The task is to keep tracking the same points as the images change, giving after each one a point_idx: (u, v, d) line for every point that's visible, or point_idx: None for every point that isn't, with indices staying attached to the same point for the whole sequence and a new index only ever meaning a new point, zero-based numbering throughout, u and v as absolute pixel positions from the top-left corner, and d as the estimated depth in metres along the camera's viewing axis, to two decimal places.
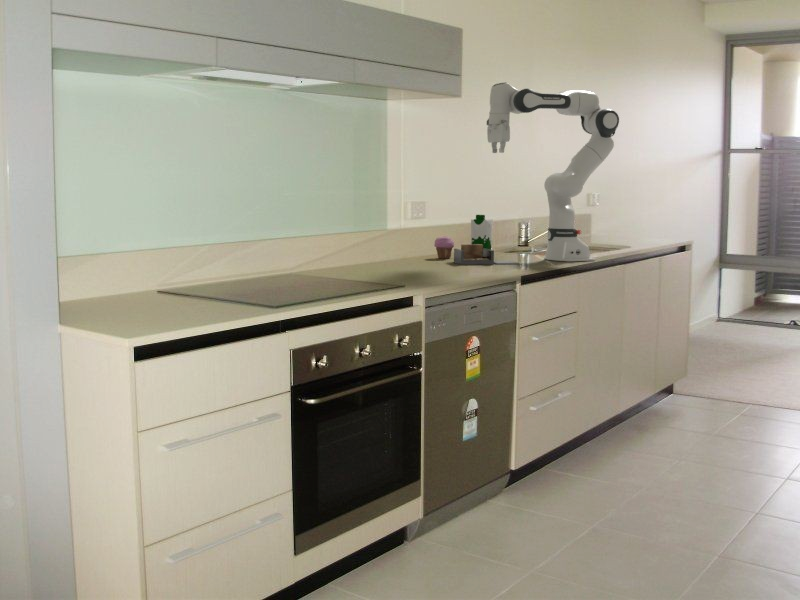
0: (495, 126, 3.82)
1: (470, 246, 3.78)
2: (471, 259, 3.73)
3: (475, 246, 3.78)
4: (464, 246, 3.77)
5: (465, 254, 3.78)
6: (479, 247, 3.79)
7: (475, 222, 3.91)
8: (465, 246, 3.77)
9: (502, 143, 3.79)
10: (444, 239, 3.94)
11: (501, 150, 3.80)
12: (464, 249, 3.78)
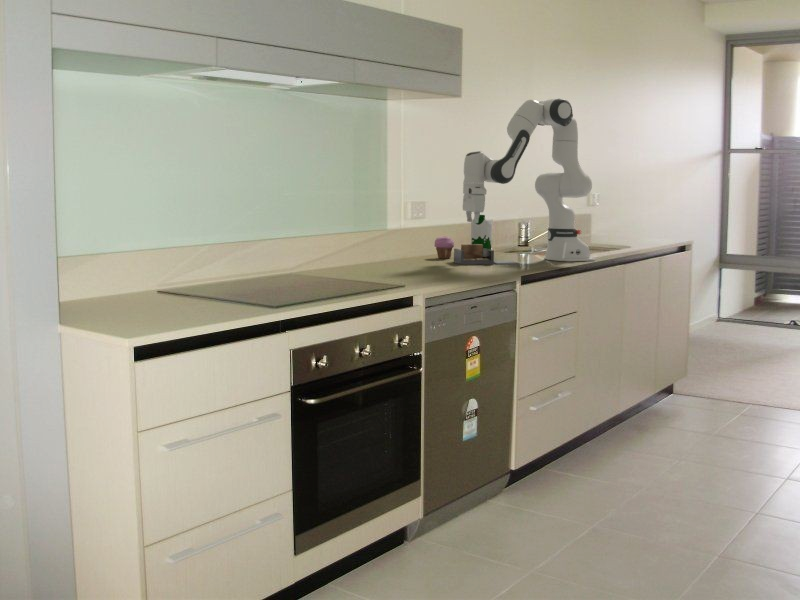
0: None
1: (470, 246, 3.78)
2: (471, 259, 3.73)
3: (475, 246, 3.78)
4: (464, 246, 3.77)
5: (465, 254, 3.78)
6: (479, 247, 3.79)
7: None
8: (465, 246, 3.77)
9: None
10: (444, 239, 3.94)
11: None
12: (464, 249, 3.78)
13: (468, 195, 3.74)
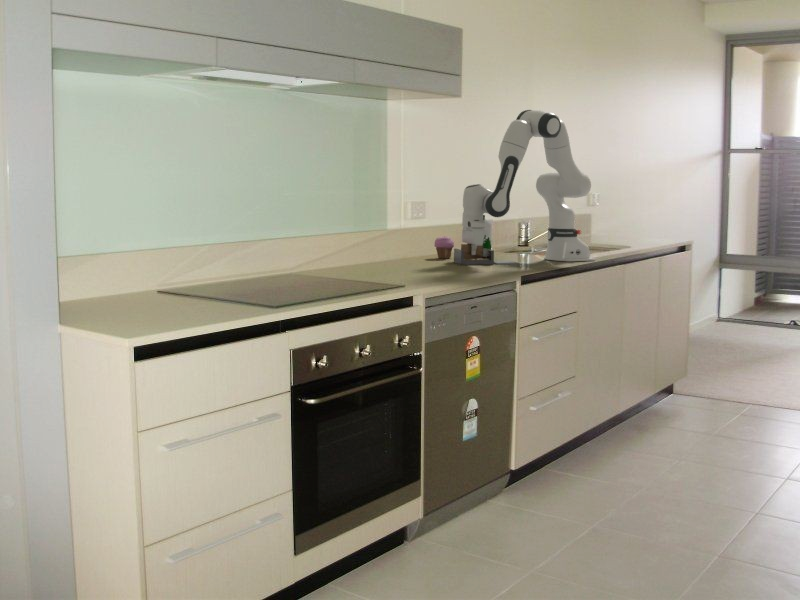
0: None
1: (470, 246, 3.78)
2: (471, 259, 3.73)
3: None
4: (464, 246, 3.77)
5: (465, 253, 3.78)
6: (479, 246, 3.79)
7: None
8: (465, 246, 3.77)
9: None
10: (444, 239, 3.94)
11: None
12: (464, 249, 3.77)
13: (467, 228, 3.76)
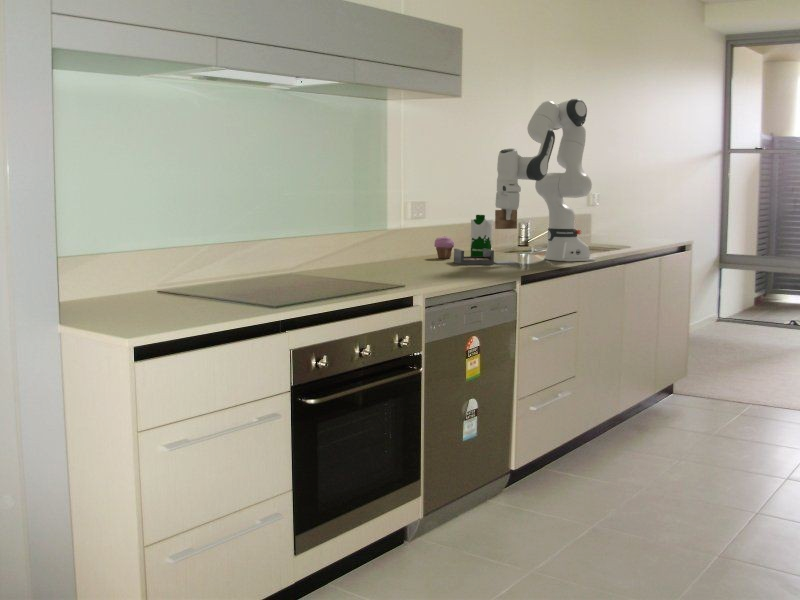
0: None
1: (504, 211, 3.76)
2: (471, 259, 3.73)
3: None
4: (498, 211, 3.75)
5: (499, 219, 3.76)
6: (513, 212, 3.77)
7: (475, 222, 3.91)
8: (499, 211, 3.75)
9: None
10: (444, 239, 3.94)
11: None
12: (498, 214, 3.75)
13: (502, 192, 3.74)
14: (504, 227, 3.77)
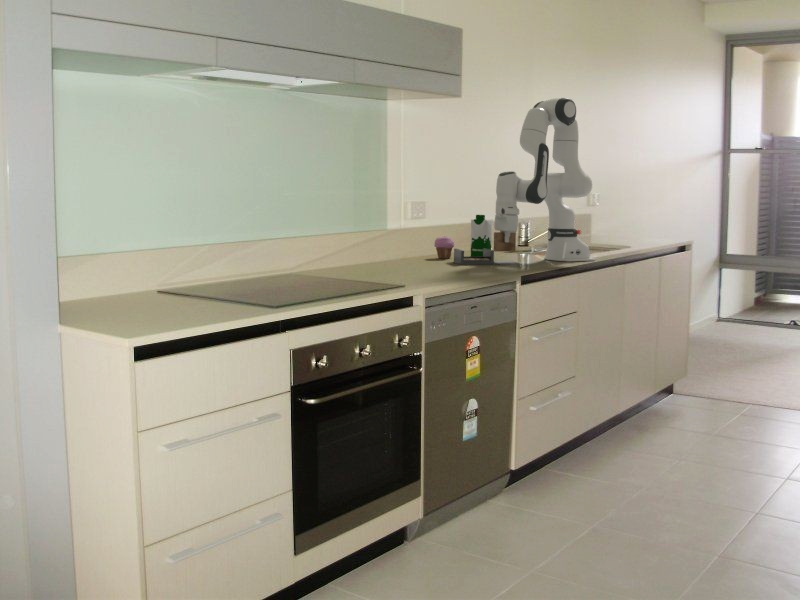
0: None
1: (503, 234, 3.77)
2: (471, 259, 3.73)
3: None
4: (497, 234, 3.77)
5: (498, 241, 3.77)
6: (512, 234, 3.78)
7: (475, 222, 3.91)
8: (498, 234, 3.77)
9: None
10: (444, 239, 3.94)
11: None
12: (497, 237, 3.77)
13: (501, 215, 3.75)
14: (503, 249, 3.78)
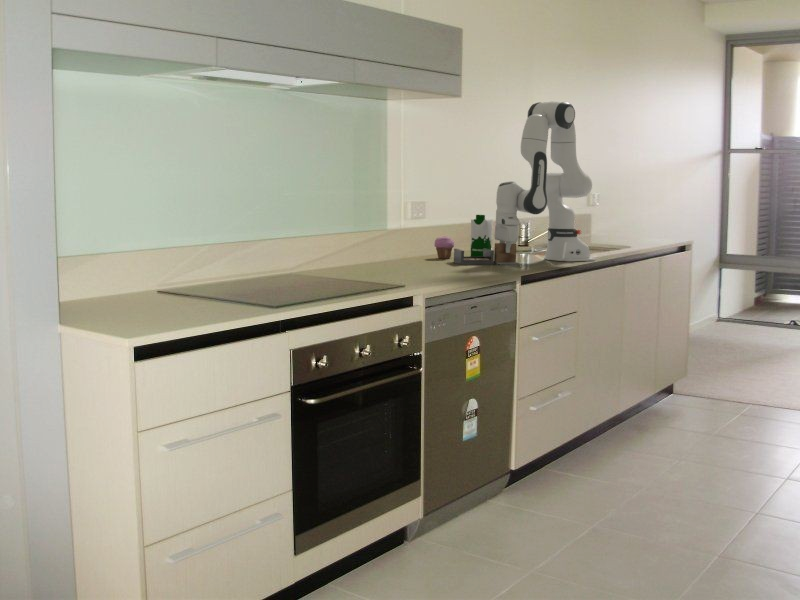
0: None
1: (504, 245, 3.78)
2: (471, 259, 3.73)
3: None
4: (498, 245, 3.77)
5: (499, 252, 3.78)
6: (512, 245, 3.79)
7: (475, 222, 3.91)
8: (499, 245, 3.77)
9: None
10: (444, 239, 3.94)
11: None
12: (498, 248, 3.78)
13: (501, 225, 3.76)
14: (503, 260, 3.79)
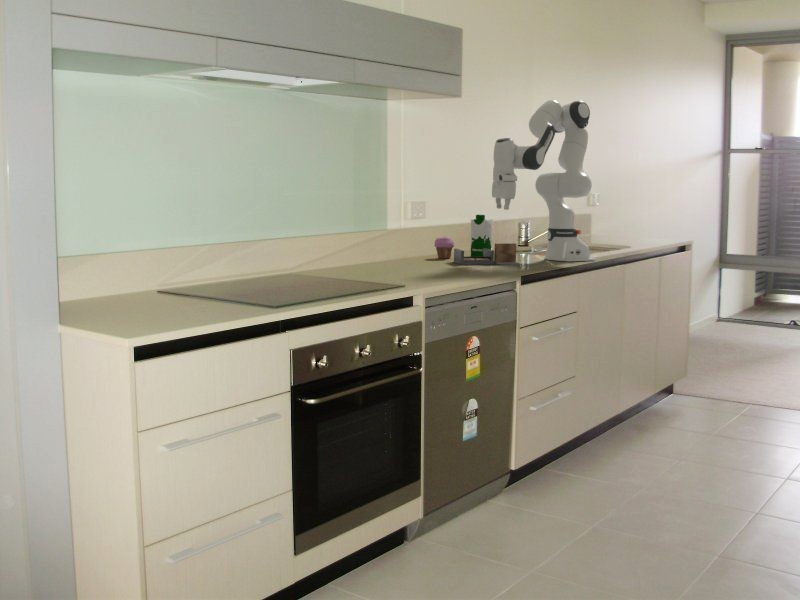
0: None
1: (504, 245, 3.78)
2: (470, 259, 3.73)
3: (509, 245, 3.78)
4: (498, 245, 3.77)
5: (499, 252, 3.78)
6: (512, 245, 3.79)
7: (475, 222, 3.91)
8: (499, 245, 3.77)
9: None
10: (444, 239, 3.94)
11: None
12: (498, 248, 3.78)
13: (498, 182, 3.75)
14: (503, 260, 3.79)
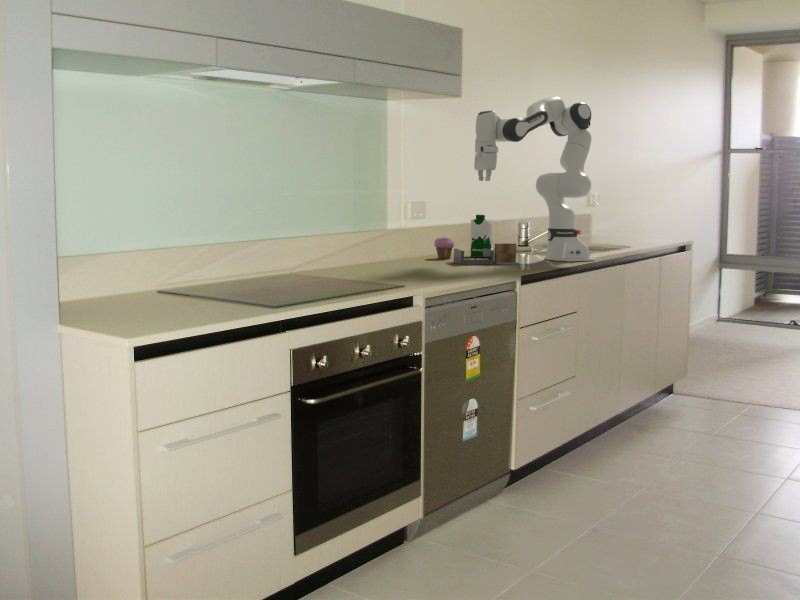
0: None
1: (504, 245, 3.78)
2: (470, 259, 3.73)
3: (509, 245, 3.78)
4: (498, 245, 3.77)
5: (499, 252, 3.78)
6: (512, 245, 3.79)
7: (475, 222, 3.91)
8: (499, 245, 3.77)
9: None
10: (444, 239, 3.94)
11: None
12: (498, 248, 3.78)
13: (480, 154, 3.80)
14: (503, 260, 3.79)
